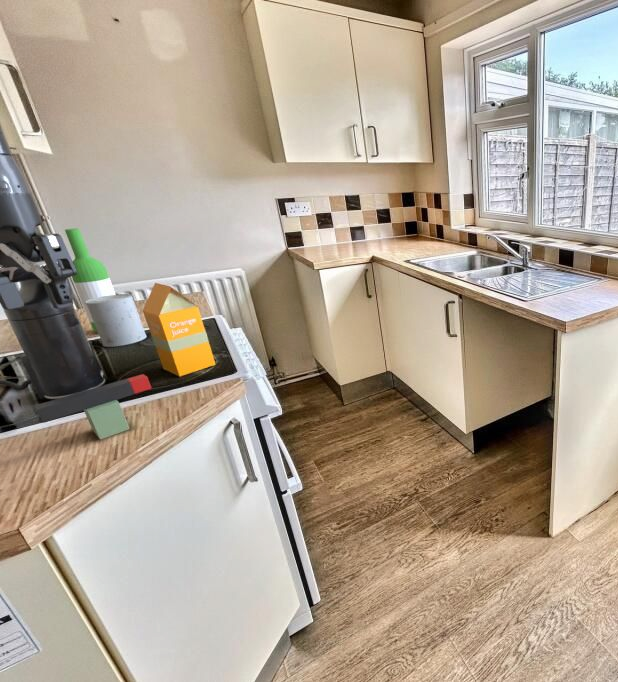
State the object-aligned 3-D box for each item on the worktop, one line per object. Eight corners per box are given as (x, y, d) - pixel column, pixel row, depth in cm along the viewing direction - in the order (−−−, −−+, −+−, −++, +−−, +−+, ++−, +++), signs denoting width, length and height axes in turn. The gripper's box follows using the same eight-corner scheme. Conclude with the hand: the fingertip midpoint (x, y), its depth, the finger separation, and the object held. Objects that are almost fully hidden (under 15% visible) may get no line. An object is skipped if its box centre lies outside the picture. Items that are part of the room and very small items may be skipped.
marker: (43, 422, 67) (36, 409, 66) (40, 418, 68) (34, 405, 67) (151, 388, 77) (147, 376, 76) (147, 385, 79) (143, 373, 78)
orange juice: (179, 376, 95) (149, 290, 88) (162, 368, 99) (132, 286, 92) (216, 364, 101) (191, 282, 94) (199, 357, 106) (174, 279, 98)
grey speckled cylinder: (94, 344, 117) (77, 301, 112) (134, 333, 125) (119, 293, 120) (115, 348, 113) (97, 304, 109) (154, 336, 121) (139, 295, 117)
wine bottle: (90, 331, 128) (48, 230, 117) (122, 324, 134) (85, 227, 123) (99, 335, 124) (56, 231, 113) (132, 327, 130) (94, 227, 119)
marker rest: (100, 439, 72) (87, 411, 70) (93, 430, 75) (80, 403, 73) (129, 429, 75) (118, 401, 73) (121, 420, 78) (110, 394, 76)
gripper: (65, 189, 60) (107, 301, 65) (-20, 193, 61) (27, 302, 67) (-1, 189, 53) (52, 314, 58) (-95, 194, 54) (-35, 315, 60)
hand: (39, 307), depth 62 cm, fingers open, 8 cm apart
